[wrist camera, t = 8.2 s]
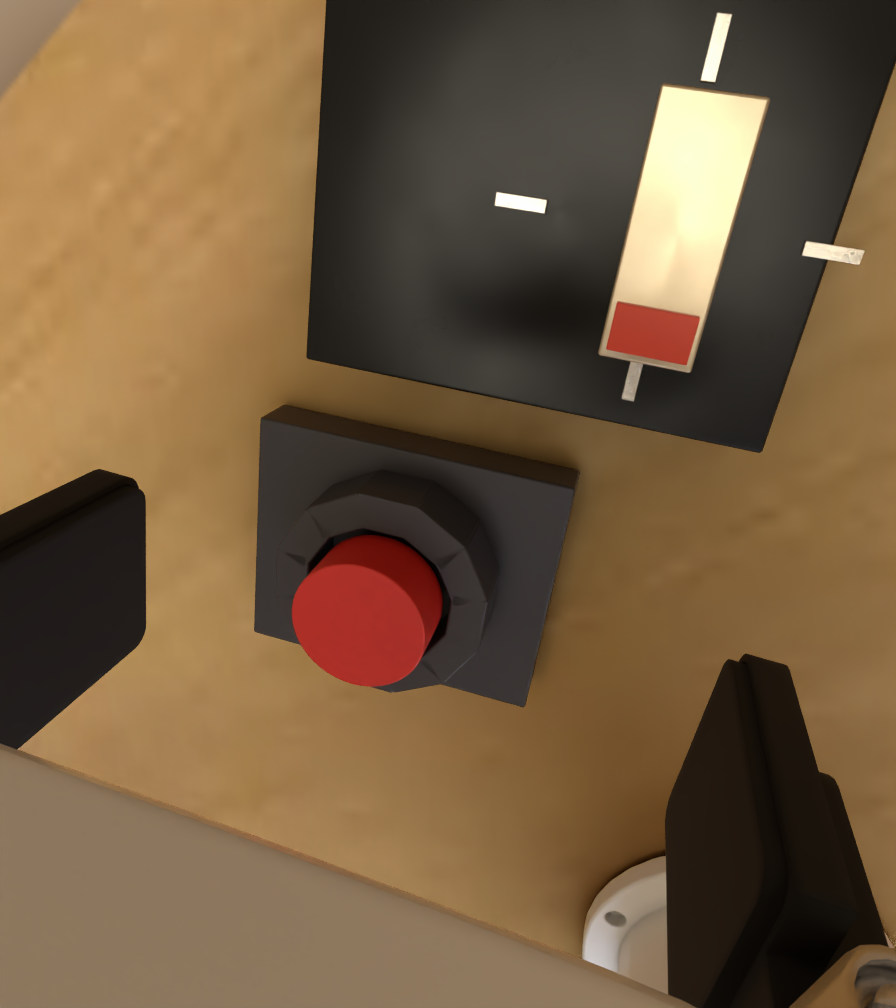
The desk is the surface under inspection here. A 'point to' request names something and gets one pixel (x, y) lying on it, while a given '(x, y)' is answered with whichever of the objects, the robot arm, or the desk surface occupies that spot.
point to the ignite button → (368, 610)
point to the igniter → (418, 536)
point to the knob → (681, 223)
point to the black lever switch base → (576, 193)
